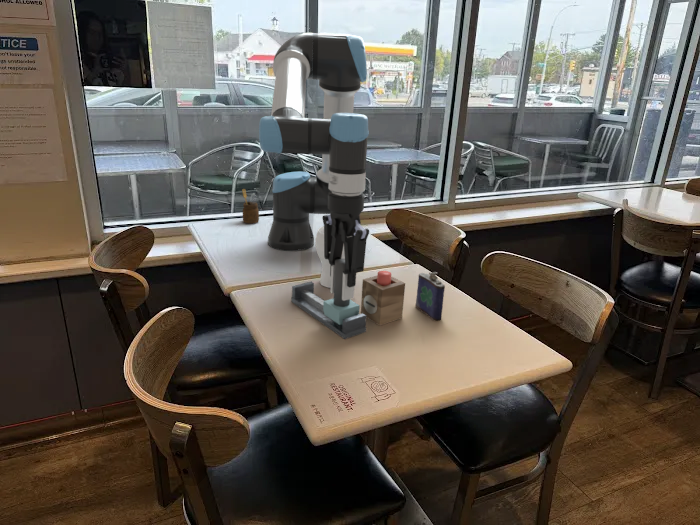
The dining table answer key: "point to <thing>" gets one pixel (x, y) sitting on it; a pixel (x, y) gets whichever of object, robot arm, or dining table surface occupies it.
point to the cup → (319, 244)
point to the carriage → (339, 298)
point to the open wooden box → (382, 300)
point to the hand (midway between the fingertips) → (341, 295)
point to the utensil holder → (250, 211)
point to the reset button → (384, 278)
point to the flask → (430, 295)
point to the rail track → (314, 307)
